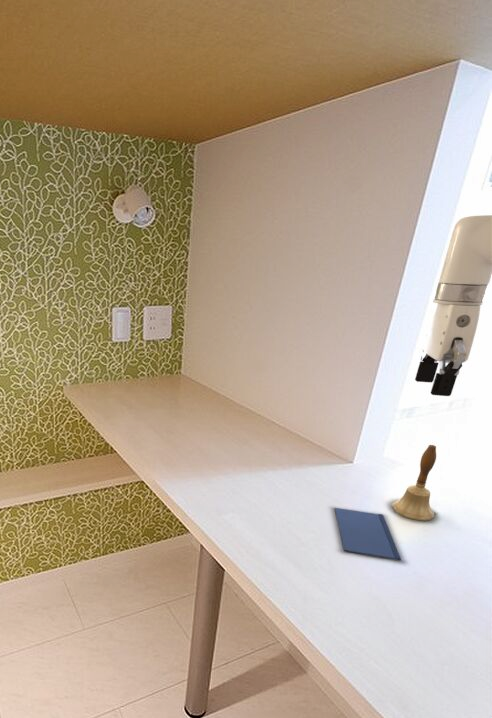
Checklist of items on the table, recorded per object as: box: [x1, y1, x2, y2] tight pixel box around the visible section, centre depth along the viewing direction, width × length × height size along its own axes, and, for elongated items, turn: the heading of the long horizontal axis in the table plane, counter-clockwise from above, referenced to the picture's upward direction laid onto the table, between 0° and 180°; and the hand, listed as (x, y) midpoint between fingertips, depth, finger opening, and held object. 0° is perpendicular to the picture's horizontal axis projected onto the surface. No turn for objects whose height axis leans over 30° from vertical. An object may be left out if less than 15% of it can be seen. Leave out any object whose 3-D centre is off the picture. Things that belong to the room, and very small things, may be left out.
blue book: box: [334, 507, 402, 562], centre depth 90 cm, size 10×16×1 cm, turn 164°
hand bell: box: [391, 444, 437, 522], centre depth 95 cm, size 8×8×16 cm
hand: (431, 388), depth 85 cm, fingers open, 9 cm apart
